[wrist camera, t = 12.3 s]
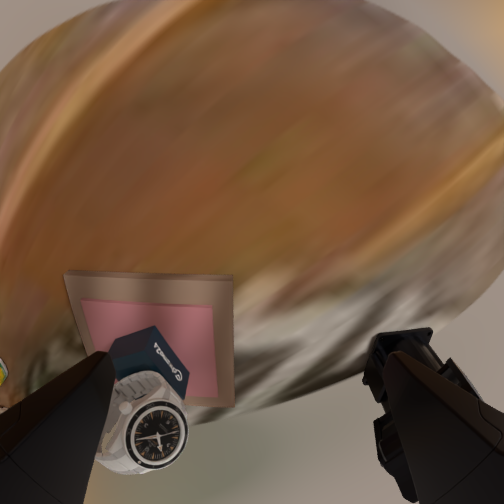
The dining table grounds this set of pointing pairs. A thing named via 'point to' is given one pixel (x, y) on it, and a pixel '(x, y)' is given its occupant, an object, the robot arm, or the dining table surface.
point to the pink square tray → (163, 322)
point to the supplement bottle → (2, 371)
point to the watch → (145, 405)
